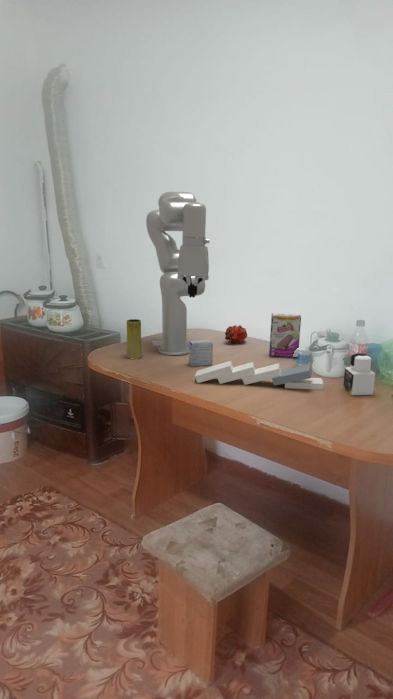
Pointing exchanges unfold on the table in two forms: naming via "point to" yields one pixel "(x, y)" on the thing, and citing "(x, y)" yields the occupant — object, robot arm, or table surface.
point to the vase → (134, 338)
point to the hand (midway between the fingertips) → (192, 296)
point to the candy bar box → (284, 334)
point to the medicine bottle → (359, 375)
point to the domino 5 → (306, 384)
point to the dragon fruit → (236, 334)
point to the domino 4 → (293, 375)
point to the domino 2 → (238, 373)
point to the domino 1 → (214, 371)
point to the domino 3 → (263, 374)
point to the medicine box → (200, 353)
